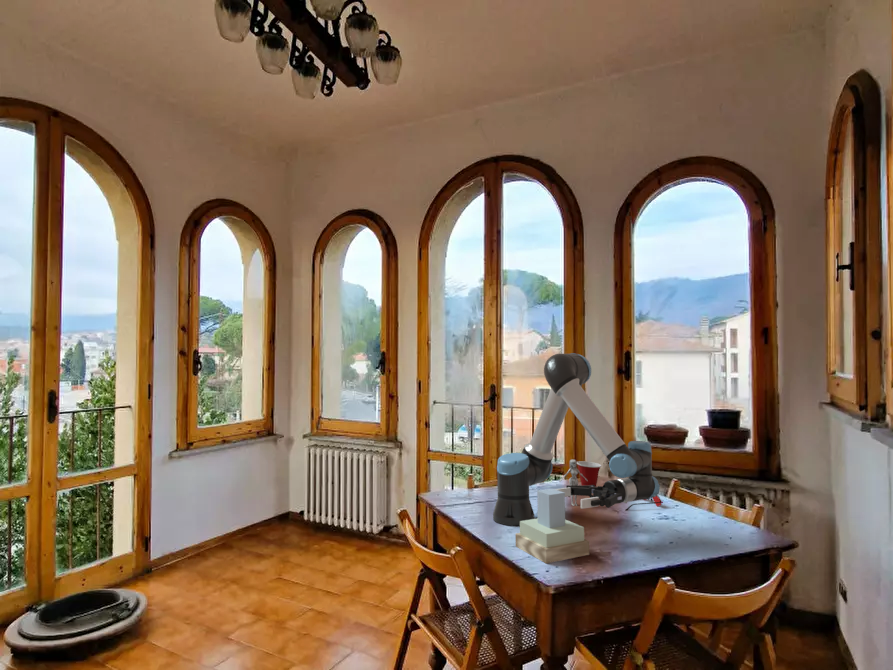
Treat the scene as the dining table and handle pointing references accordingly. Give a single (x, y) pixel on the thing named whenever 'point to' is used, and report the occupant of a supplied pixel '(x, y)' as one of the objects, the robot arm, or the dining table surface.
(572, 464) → the human figurine
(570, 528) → the top brick
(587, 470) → the plastic cup
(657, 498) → the glasses
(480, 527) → the dining table surface
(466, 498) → the dining table surface
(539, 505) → the tall brick
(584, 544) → the base brick
